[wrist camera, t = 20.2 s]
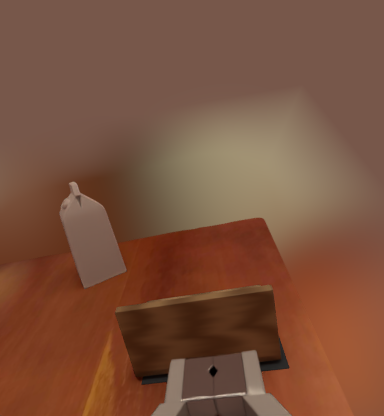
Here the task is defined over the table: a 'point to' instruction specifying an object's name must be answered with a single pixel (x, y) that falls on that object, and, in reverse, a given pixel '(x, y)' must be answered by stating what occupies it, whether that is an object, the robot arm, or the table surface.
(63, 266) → the table surface
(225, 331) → the drawer
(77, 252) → the milk
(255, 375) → the robot arm
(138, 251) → the table surface
